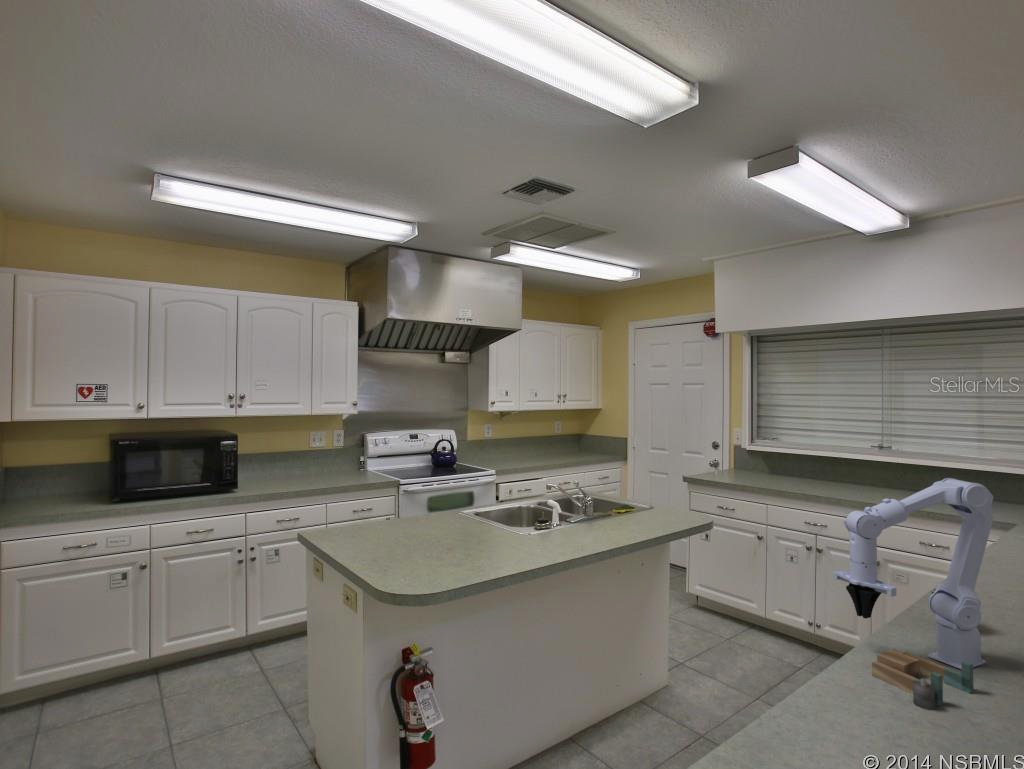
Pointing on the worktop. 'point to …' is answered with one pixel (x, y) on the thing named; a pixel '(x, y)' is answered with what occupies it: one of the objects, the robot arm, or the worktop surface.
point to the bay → (921, 690)
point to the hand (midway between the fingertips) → (863, 616)
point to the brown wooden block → (900, 662)
